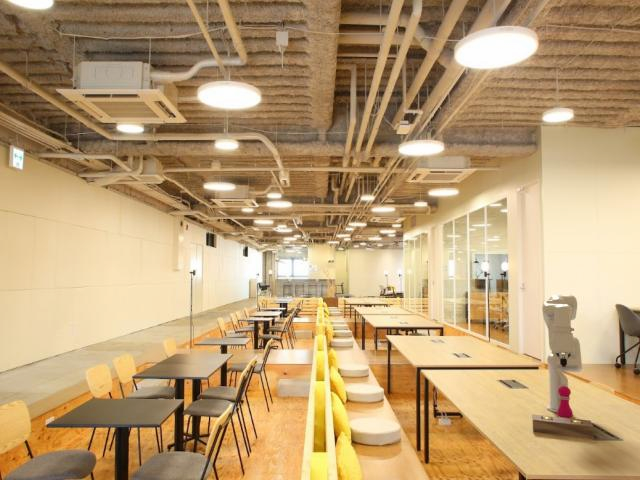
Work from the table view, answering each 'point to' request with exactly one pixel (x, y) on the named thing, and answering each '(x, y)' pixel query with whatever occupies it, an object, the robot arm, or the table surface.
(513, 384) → the table surface
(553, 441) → the table surface
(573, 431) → the collar block
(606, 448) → the table surface
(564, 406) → the pepper mill
